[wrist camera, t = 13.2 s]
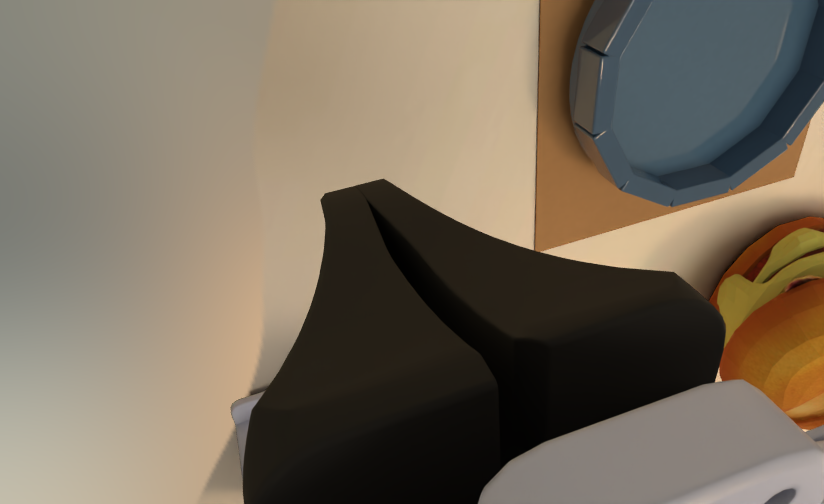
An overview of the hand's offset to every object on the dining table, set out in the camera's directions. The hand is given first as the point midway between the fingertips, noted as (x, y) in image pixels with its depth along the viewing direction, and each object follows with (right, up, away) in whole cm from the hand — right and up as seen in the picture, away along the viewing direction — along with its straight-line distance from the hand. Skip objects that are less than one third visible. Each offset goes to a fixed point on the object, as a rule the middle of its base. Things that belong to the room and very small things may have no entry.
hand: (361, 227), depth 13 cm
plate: (+12, +7, +12) cm, 18 cm away
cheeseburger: (+20, -2, +22) cm, 30 cm away
